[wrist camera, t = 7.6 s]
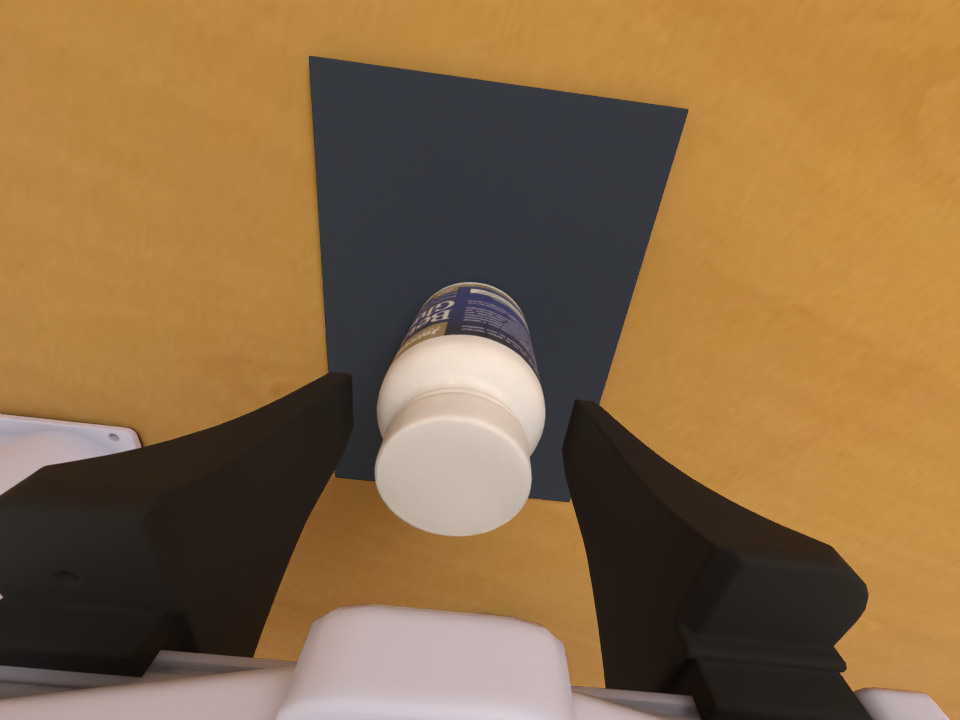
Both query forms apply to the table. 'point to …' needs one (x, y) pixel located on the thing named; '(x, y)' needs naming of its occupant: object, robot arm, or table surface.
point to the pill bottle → (460, 414)
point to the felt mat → (481, 225)
